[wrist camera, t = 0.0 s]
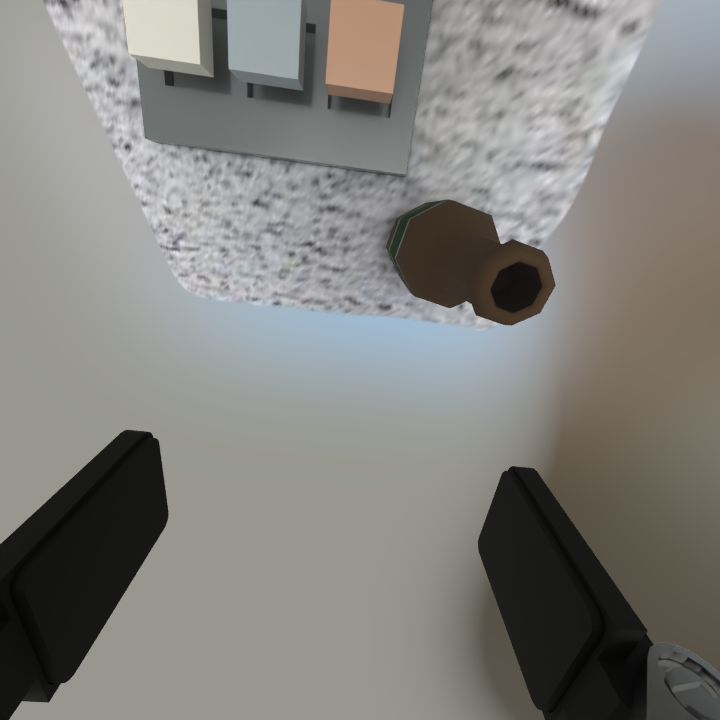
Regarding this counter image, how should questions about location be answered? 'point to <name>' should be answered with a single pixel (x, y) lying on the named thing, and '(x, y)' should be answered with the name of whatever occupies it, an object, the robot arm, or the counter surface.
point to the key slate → (267, 41)
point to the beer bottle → (468, 263)
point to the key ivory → (171, 34)
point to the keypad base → (291, 104)
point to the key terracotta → (363, 49)
